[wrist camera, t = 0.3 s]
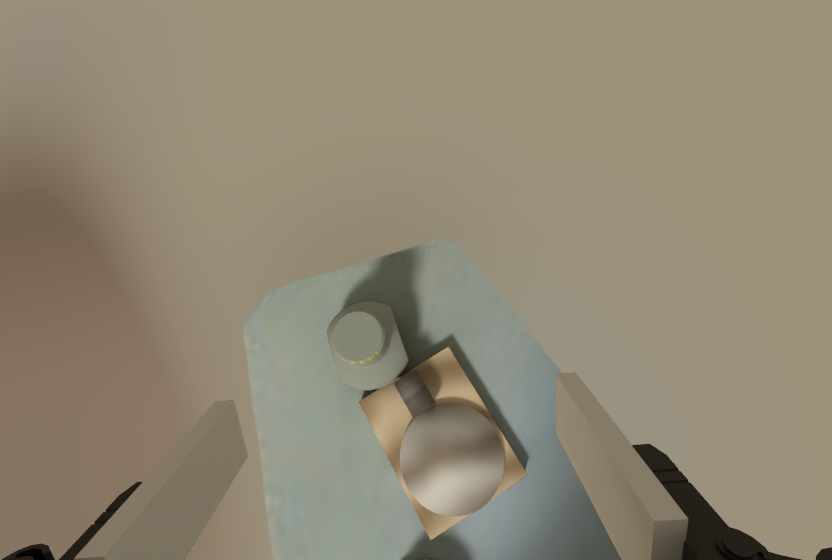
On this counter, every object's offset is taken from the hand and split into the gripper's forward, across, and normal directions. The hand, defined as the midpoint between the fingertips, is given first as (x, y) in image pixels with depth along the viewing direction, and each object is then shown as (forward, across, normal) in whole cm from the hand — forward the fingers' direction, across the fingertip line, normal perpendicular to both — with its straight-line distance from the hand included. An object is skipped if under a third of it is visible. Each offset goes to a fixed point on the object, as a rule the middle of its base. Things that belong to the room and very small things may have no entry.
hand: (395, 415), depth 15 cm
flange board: (+26, -1, +22) cm, 34 cm away
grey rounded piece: (+33, +7, +12) cm, 35 cm away
